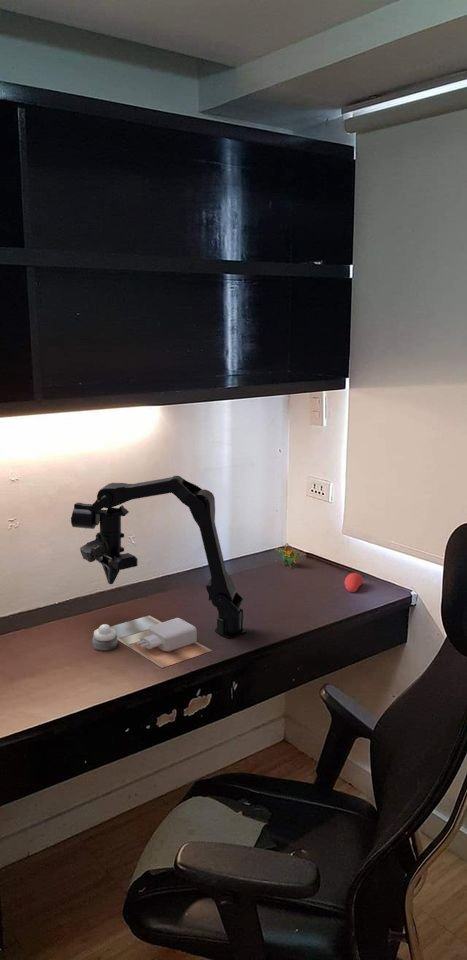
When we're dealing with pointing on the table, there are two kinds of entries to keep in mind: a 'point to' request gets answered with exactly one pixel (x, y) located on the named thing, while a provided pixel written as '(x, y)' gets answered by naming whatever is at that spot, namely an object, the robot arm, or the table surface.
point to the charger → (170, 635)
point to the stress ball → (353, 582)
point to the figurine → (289, 556)
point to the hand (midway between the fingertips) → (110, 583)
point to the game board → (131, 636)
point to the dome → (104, 633)
